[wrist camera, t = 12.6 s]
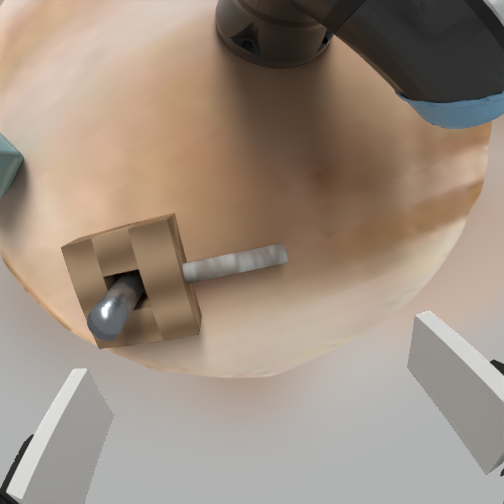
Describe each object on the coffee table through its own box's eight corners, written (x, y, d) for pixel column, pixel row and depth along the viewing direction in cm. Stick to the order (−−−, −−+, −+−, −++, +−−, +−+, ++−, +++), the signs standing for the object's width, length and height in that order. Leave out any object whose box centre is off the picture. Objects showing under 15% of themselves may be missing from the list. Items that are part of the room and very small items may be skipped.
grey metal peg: (122, 267, 36) (81, 311, 24) (145, 262, 37) (111, 306, 24) (130, 291, 37) (94, 342, 25) (152, 287, 38) (124, 338, 25)
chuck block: (78, 238, 35) (60, 247, 30) (271, 192, 36) (278, 195, 31) (110, 330, 39) (99, 348, 34) (289, 297, 40) (297, 313, 35)
